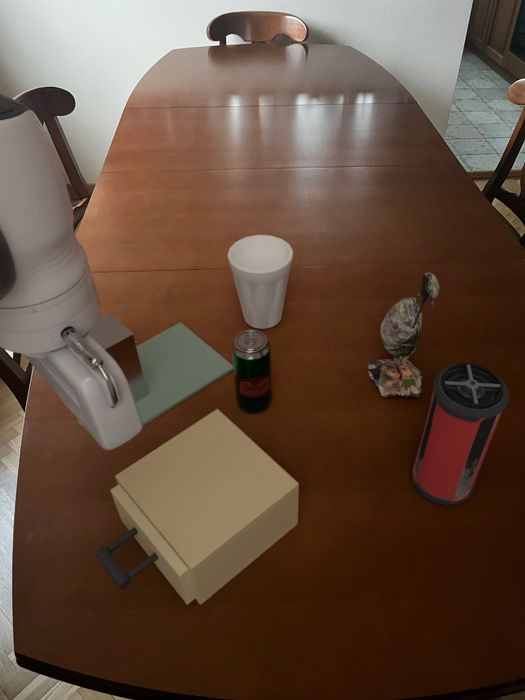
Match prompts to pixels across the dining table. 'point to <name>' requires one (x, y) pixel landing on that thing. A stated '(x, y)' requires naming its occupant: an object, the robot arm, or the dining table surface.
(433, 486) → the speaker
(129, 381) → the brushed metal box
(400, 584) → the dining table surface
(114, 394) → the robot arm
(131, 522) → the drawer
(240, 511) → the cabinet
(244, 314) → the cup
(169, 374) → the mat
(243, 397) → the soda can
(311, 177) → the dining table surface
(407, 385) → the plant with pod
